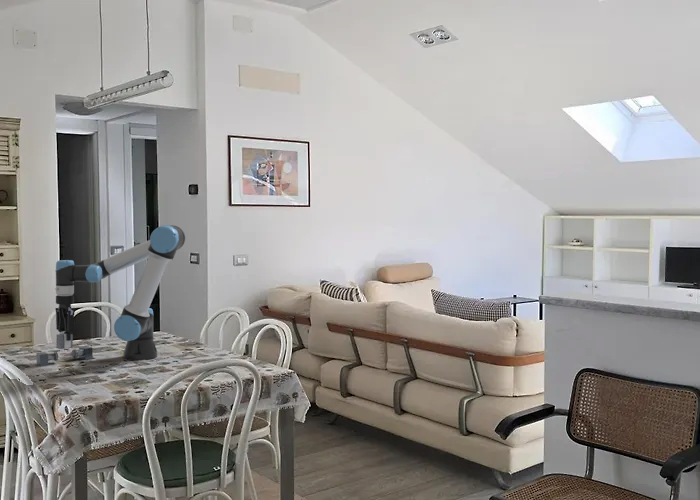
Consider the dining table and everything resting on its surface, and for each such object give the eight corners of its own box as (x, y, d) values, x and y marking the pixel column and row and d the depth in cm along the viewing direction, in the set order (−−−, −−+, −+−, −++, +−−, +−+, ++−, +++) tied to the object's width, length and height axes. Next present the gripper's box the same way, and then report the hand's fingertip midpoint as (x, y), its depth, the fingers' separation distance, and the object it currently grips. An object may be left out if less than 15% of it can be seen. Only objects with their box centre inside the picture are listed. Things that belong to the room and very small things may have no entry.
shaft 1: (54, 362, 321) (54, 350, 321) (58, 363, 317) (58, 352, 317) (36, 364, 316) (36, 352, 316) (40, 366, 312) (39, 354, 312)
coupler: (60, 349, 318) (60, 335, 318) (56, 347, 321) (56, 334, 320) (72, 347, 322) (72, 334, 322) (68, 346, 325) (68, 333, 325)
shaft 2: (85, 357, 333) (85, 346, 332) (92, 358, 330) (92, 347, 330) (70, 359, 326) (70, 348, 326) (77, 361, 323) (77, 350, 323)
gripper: (47, 293, 323) (48, 345, 324) (65, 297, 312) (65, 350, 313) (64, 292, 329) (64, 343, 330) (82, 295, 317) (82, 348, 319)
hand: (65, 346), depth 322 cm, fingers closed on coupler, 4 cm apart
